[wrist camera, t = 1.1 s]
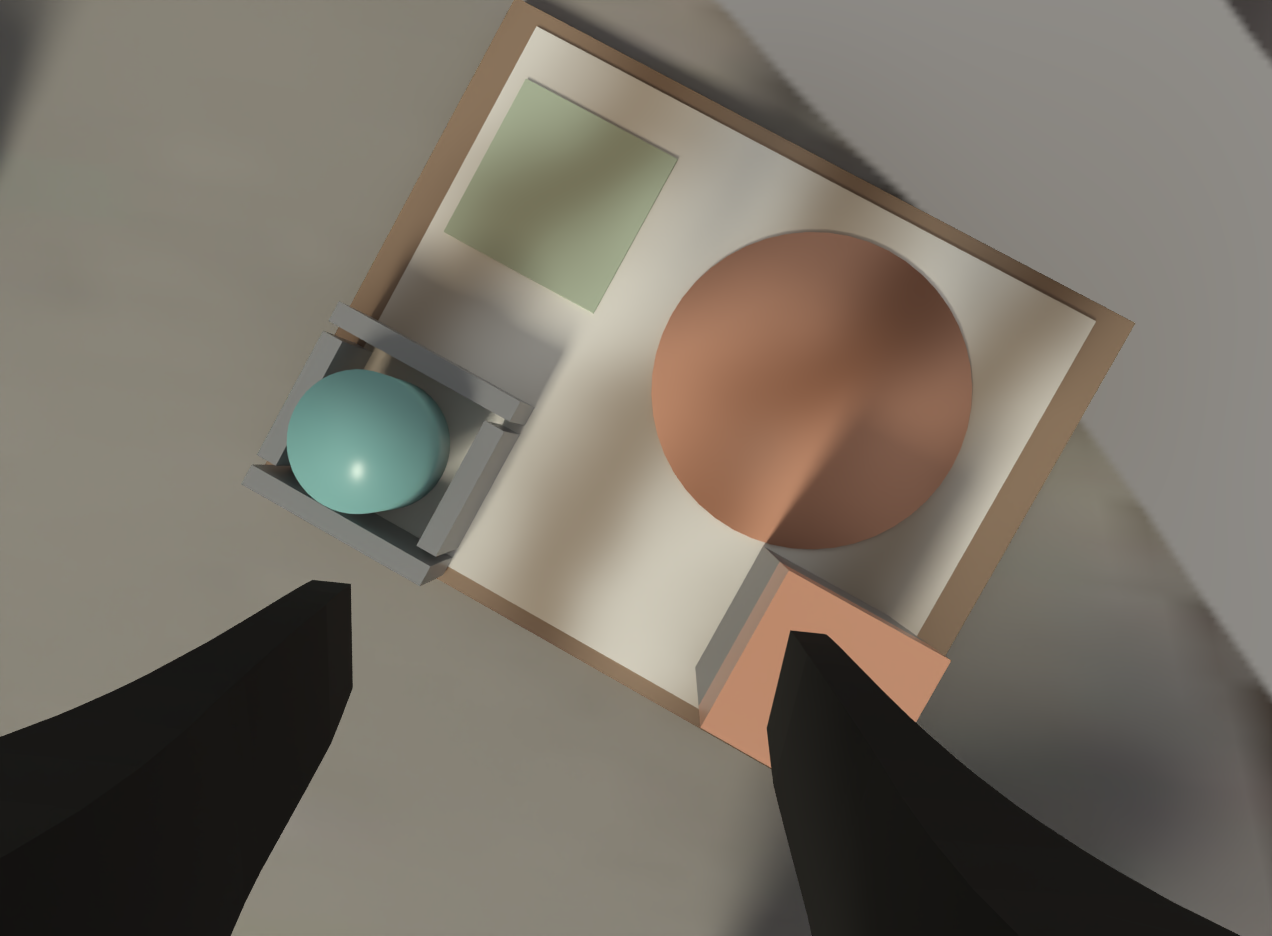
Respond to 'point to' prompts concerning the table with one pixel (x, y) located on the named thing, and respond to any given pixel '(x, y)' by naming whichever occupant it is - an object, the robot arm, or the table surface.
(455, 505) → the button housing
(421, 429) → the button
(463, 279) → the colouring board
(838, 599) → the salmon block
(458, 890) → the table surface
